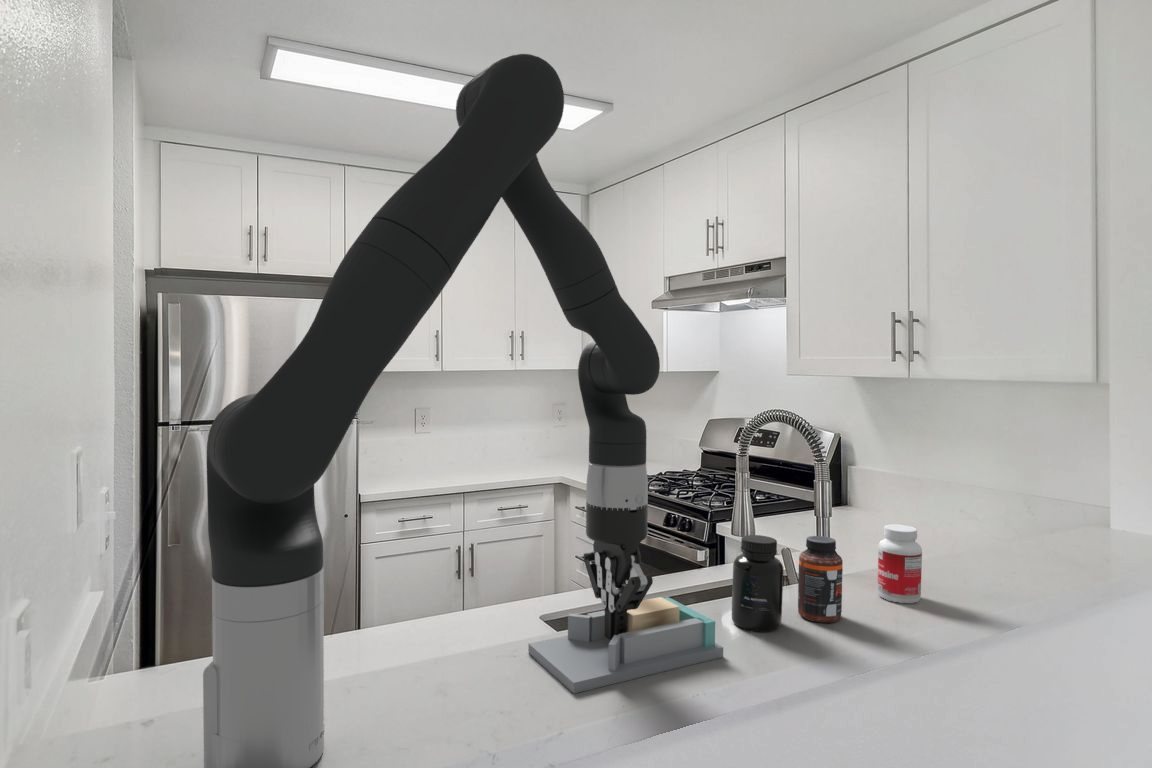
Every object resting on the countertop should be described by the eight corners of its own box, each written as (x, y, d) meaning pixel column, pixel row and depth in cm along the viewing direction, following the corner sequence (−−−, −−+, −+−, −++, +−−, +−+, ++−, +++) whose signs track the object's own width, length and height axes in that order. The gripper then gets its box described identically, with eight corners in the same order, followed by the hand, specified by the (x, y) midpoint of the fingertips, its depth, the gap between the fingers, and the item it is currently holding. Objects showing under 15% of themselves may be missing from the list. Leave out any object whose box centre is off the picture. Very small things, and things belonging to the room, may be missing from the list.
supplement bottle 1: (747, 635, 94) (748, 546, 93) (722, 617, 100) (724, 534, 100) (792, 630, 96) (793, 543, 95) (765, 613, 102) (766, 531, 102)
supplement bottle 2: (844, 626, 97) (846, 545, 97) (800, 622, 98) (801, 542, 98) (837, 611, 103) (839, 534, 103) (795, 608, 104) (797, 532, 104)
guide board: (573, 693, 77) (573, 655, 77) (528, 652, 87) (528, 619, 87) (723, 656, 87) (723, 623, 87) (666, 624, 97) (666, 594, 97)
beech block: (632, 652, 85) (632, 615, 85) (615, 640, 88) (615, 605, 88) (679, 641, 88) (679, 606, 88) (660, 630, 92) (661, 596, 92)
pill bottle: (869, 592, 112) (870, 523, 111) (903, 590, 113) (905, 522, 112) (893, 606, 106) (895, 533, 105) (929, 603, 107) (931, 531, 106)
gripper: (564, 492, 90) (563, 626, 90) (619, 512, 78) (617, 665, 79) (614, 487, 93) (613, 616, 94) (674, 506, 82) (671, 653, 82)
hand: (615, 638), depth 86 cm, fingers closed
